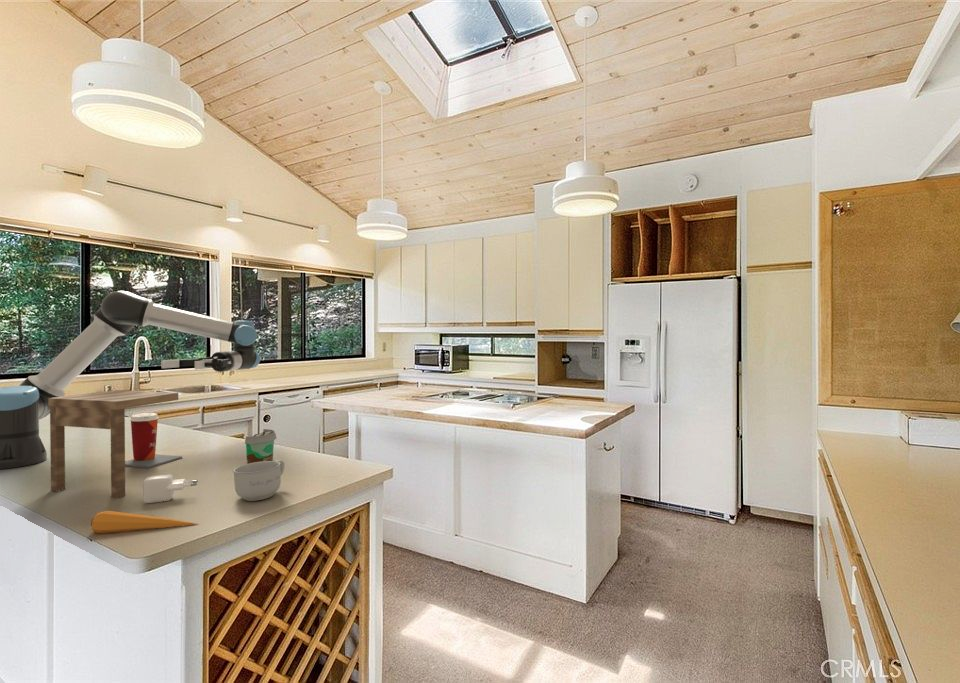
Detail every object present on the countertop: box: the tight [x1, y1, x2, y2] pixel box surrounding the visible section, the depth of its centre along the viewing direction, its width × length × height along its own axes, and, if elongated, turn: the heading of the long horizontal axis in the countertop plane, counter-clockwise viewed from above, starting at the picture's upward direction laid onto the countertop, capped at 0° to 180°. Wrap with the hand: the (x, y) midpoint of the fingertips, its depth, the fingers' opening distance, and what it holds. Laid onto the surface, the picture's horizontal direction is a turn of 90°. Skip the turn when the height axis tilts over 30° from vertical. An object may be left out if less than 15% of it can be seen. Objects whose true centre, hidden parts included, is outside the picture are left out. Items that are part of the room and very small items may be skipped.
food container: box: [244, 428, 277, 464], centre depth 149 cm, size 12×6×10 cm, turn 179°
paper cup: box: [129, 412, 160, 461], centre depth 153 cm, size 8×8×14 cm
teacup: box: [232, 459, 286, 502], centre depth 122 cm, size 14×11×8 cm
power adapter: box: [142, 473, 199, 504], centre depth 118 cm, size 11×5×6 cm, turn 115°
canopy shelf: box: [48, 389, 179, 499], centre depth 130 cm, size 22×18×24 cm
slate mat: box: [125, 453, 183, 469], centre depth 152 cm, size 12×12×1 cm
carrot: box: [90, 510, 198, 534], centre depth 101 cm, size 20×4×4 cm, turn 102°
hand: (178, 364), depth 162 cm, fingers open, 13 cm apart
